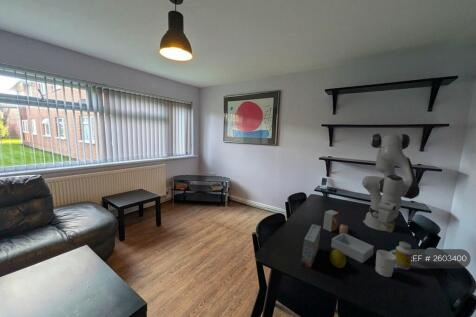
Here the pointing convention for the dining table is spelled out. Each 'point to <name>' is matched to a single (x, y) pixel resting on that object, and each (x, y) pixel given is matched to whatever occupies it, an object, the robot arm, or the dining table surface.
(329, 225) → the small box
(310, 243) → the snack box
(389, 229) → the beech cube
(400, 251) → the supplement bottle
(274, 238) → the dining table surface
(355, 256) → the tote
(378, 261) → the white cup
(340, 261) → the lemon
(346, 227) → the brown oval piece
